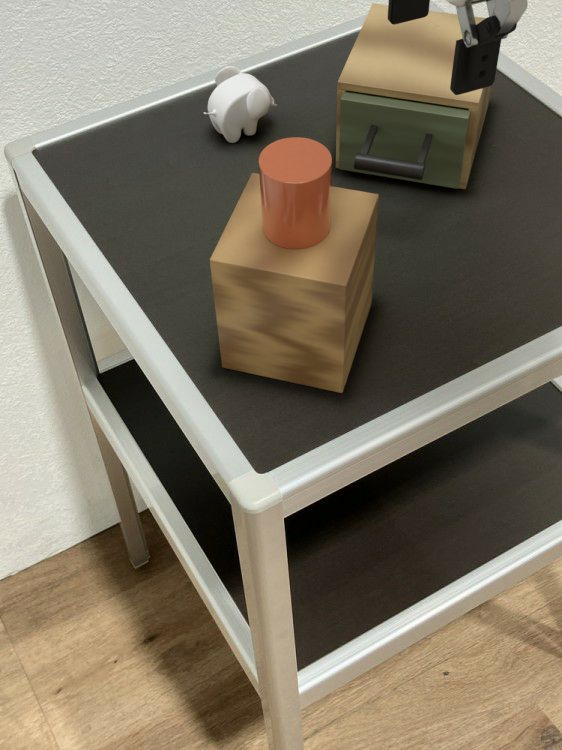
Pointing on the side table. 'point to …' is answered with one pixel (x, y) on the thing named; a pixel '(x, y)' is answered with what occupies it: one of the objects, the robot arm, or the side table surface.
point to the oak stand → (295, 292)
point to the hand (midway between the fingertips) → (438, 52)
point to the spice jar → (295, 192)
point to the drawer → (402, 138)
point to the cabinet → (412, 69)
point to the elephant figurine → (237, 103)
